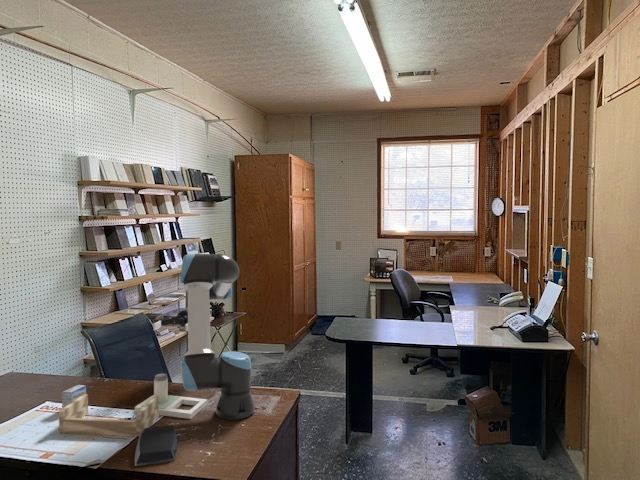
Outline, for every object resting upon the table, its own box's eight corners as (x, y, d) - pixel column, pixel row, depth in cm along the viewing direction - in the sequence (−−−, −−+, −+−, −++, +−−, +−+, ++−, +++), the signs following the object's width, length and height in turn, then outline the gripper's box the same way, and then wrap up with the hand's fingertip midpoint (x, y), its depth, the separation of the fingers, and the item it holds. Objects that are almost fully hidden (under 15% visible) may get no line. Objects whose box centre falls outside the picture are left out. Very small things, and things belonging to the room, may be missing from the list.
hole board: (207, 404, 182) (207, 398, 182) (190, 418, 168) (190, 412, 168) (155, 398, 187) (155, 392, 187) (134, 412, 173) (134, 406, 173)
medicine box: (71, 414, 170) (71, 392, 169) (61, 413, 171) (61, 391, 170) (86, 406, 177) (86, 385, 177) (76, 405, 178) (76, 384, 178)
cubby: (84, 414, 170) (84, 393, 170) (158, 416, 169) (158, 396, 169) (59, 433, 155) (59, 411, 154) (140, 436, 154) (140, 413, 153)
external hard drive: (132, 468, 135) (132, 454, 135) (139, 437, 154) (139, 426, 153) (176, 462, 139) (176, 449, 139) (178, 433, 157) (178, 422, 157)
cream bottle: (170, 399, 180) (170, 373, 180) (163, 404, 175) (163, 378, 175) (158, 397, 181) (158, 372, 181) (151, 402, 176) (151, 377, 176)
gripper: (212, 325, 208) (199, 337, 187) (160, 324, 209) (141, 335, 187) (213, 309, 208) (199, 319, 186) (160, 308, 208) (141, 318, 187)
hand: (170, 327), depth 187 cm, fingers open, 13 cm apart
